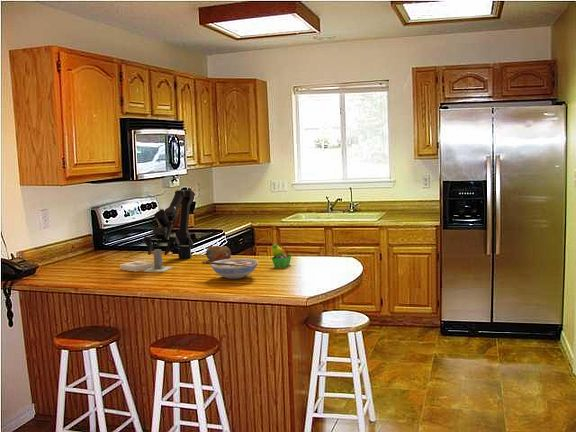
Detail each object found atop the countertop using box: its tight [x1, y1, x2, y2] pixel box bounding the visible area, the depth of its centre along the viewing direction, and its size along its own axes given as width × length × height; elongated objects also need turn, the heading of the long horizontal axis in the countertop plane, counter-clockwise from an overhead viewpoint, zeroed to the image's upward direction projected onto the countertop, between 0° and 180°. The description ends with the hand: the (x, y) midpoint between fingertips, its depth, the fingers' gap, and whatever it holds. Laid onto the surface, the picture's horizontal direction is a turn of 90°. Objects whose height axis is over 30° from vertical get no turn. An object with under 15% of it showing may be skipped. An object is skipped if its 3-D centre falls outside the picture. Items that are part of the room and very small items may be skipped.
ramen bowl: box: [202, 257, 259, 280], centre depth 298 cm, size 25×23×8 cm
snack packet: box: [205, 245, 232, 262], centre depth 344 cm, size 15×3×8 cm, turn 62°
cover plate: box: [119, 260, 154, 272], centre depth 332 cm, size 12×13×2 cm
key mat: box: [143, 266, 174, 273], centre depth 325 cm, size 11×11×1 cm
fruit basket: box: [271, 244, 292, 269], centre depth 322 cm, size 11×9×11 cm
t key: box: [152, 248, 166, 269], centre depth 325 cm, size 3×6×10 cm, turn 75°
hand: (156, 254), depth 324 cm, fingers open, 9 cm apart
